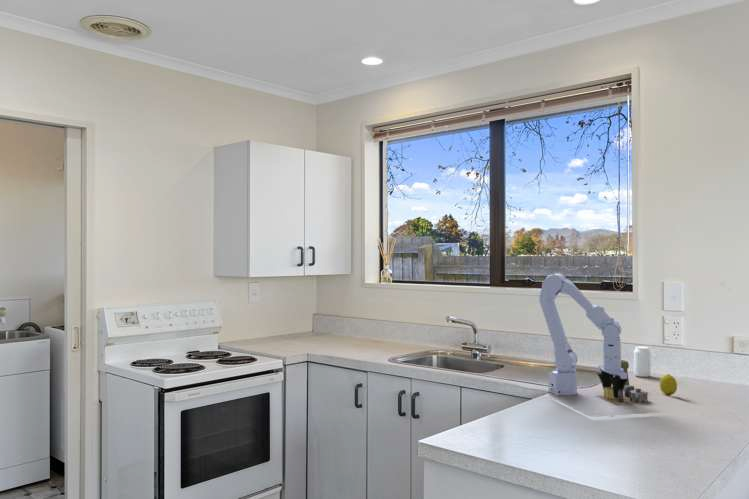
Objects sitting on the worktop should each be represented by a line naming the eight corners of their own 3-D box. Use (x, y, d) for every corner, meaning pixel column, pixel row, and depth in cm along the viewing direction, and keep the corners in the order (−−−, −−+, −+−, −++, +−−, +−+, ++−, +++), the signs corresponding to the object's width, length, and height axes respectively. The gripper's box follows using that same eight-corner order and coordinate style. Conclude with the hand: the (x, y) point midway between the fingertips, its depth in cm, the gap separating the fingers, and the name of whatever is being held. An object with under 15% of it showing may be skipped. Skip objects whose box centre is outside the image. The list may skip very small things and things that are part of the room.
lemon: (673, 394, 216) (673, 372, 216) (679, 398, 210) (679, 375, 210) (657, 394, 216) (657, 372, 216) (663, 398, 211) (663, 375, 211)
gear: (609, 399, 206) (609, 390, 206) (600, 395, 211) (600, 387, 211) (624, 398, 207) (624, 389, 207) (614, 394, 212) (614, 386, 212)
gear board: (616, 408, 198) (616, 393, 198) (595, 398, 211) (595, 384, 211) (653, 405, 201) (653, 390, 201) (629, 396, 214) (629, 382, 214)
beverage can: (633, 374, 251) (633, 345, 251) (649, 375, 249) (649, 346, 249) (635, 377, 245) (634, 348, 245) (651, 378, 243) (651, 348, 243)
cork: (632, 391, 221) (632, 361, 221) (616, 391, 221) (616, 361, 221) (626, 387, 227) (626, 358, 227) (610, 387, 227) (610, 358, 227)
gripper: (635, 359, 203) (635, 399, 203) (610, 352, 217) (610, 389, 217) (616, 360, 201) (616, 400, 201) (592, 353, 216) (593, 390, 216)
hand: (612, 395), depth 209 cm, fingers closed on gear, 5 cm apart
